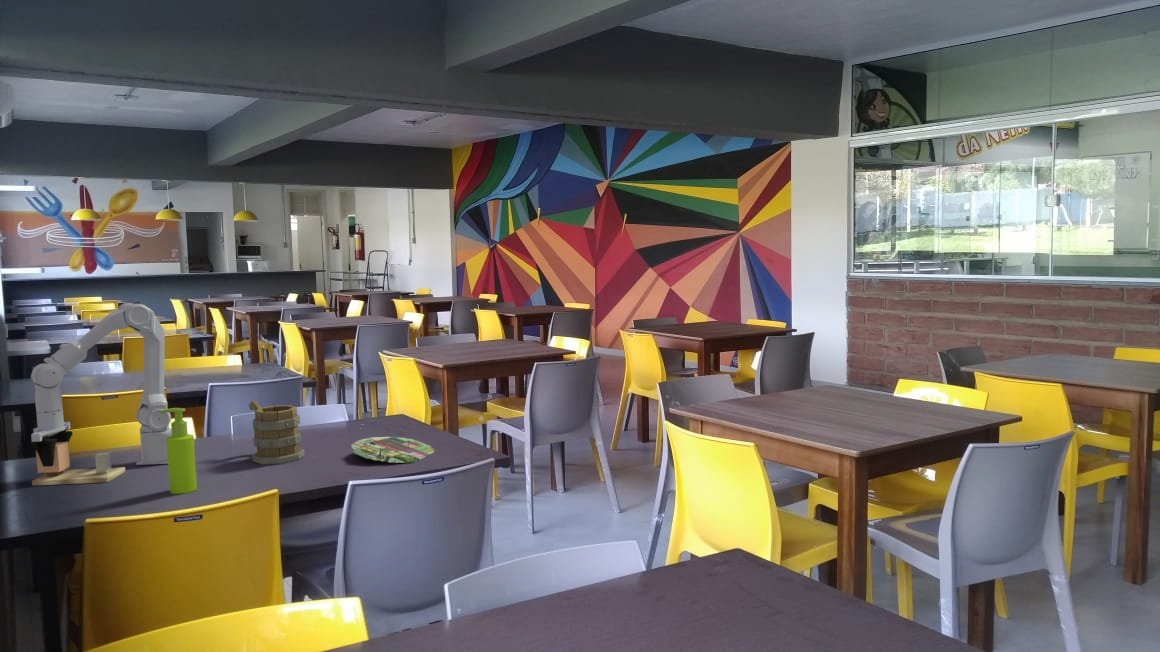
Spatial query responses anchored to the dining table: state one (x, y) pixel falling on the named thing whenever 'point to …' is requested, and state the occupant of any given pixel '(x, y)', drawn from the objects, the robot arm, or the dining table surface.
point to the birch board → (78, 477)
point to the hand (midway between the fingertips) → (54, 463)
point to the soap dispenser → (180, 455)
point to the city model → (392, 449)
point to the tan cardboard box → (56, 459)
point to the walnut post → (54, 473)
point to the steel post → (103, 463)
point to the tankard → (276, 434)
